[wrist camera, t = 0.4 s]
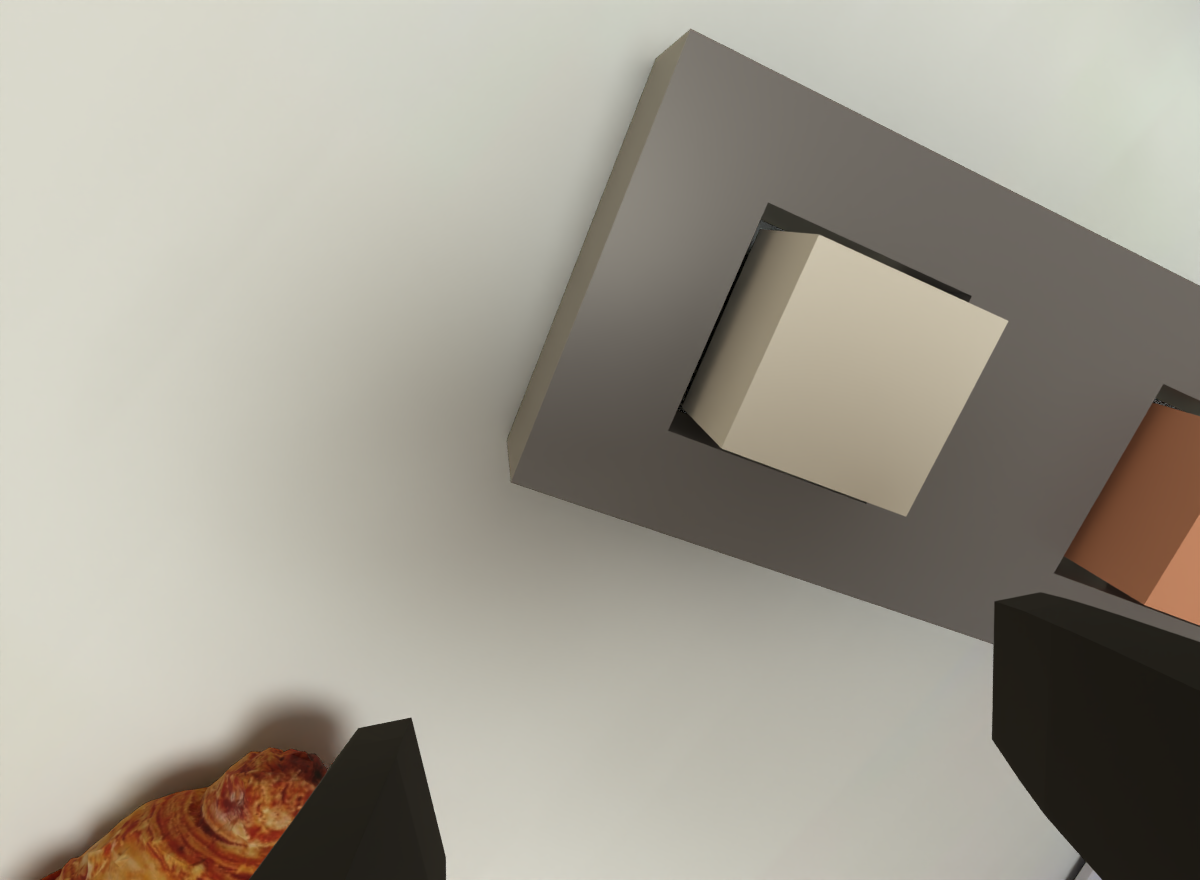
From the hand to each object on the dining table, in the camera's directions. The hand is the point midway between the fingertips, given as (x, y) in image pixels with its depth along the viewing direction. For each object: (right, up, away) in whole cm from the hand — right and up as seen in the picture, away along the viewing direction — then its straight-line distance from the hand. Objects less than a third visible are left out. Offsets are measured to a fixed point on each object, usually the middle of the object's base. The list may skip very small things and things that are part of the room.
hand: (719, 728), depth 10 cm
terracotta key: (+12, +2, +10) cm, 16 cm away
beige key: (+3, +5, +7) cm, 10 cm away
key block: (+7, +4, +11) cm, 13 cm away
